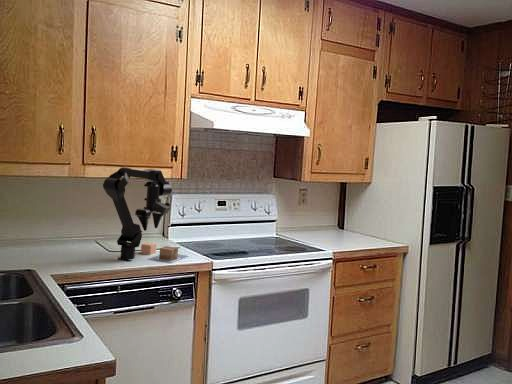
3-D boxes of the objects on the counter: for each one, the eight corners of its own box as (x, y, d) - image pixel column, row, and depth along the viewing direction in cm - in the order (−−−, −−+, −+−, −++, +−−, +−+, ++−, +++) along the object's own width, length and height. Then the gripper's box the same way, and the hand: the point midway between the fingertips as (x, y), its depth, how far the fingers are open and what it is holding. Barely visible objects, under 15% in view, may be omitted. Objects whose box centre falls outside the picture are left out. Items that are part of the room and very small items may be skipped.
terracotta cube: (150, 256, 228) (150, 245, 227) (140, 254, 230) (141, 244, 229) (155, 254, 233) (156, 244, 232) (146, 252, 234) (147, 242, 234)
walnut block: (171, 260, 219) (171, 249, 219) (159, 258, 221) (159, 248, 221) (177, 258, 225) (178, 247, 224) (165, 256, 227) (166, 245, 226)
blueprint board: (170, 264, 215) (170, 263, 215) (146, 260, 219) (146, 259, 219) (189, 257, 232) (189, 255, 232) (167, 253, 236) (167, 252, 236)
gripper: (156, 199, 217) (154, 234, 218) (178, 197, 234) (175, 229, 236) (135, 196, 221) (133, 231, 222) (157, 194, 238) (155, 226, 240)
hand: (150, 229), depth 230 cm, fingers open, 9 cm apart
